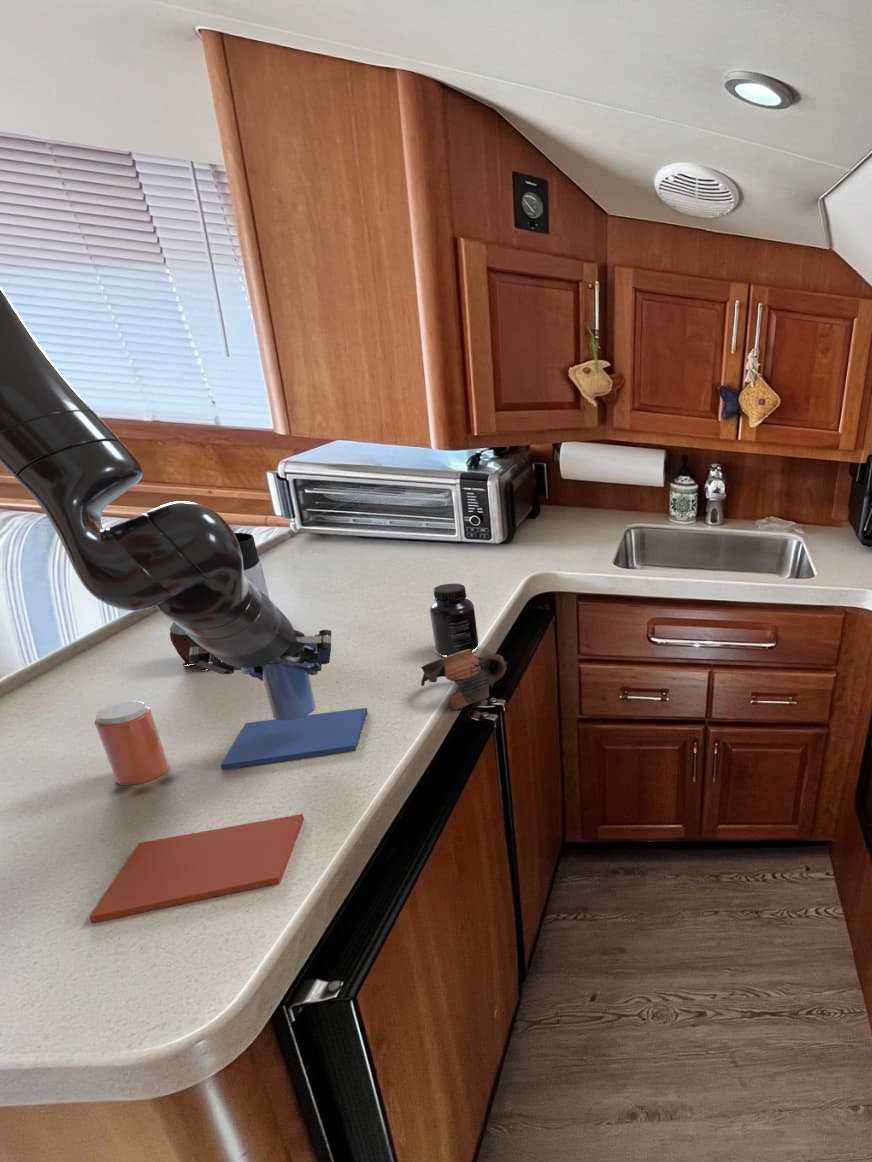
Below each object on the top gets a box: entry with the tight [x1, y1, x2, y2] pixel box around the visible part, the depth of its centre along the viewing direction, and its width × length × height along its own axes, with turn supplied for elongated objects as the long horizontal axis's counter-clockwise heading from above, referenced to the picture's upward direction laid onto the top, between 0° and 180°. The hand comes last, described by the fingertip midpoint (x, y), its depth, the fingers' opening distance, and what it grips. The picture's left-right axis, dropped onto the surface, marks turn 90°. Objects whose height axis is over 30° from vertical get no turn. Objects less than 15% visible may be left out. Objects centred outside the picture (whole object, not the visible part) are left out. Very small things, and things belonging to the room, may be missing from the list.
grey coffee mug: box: [234, 532, 271, 600], centre depth 113 cm, size 9×14×15 cm, turn 25°
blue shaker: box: [260, 662, 317, 720], centre depth 83 cm, size 5×5×9 cm
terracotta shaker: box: [93, 700, 170, 786], centre depth 75 cm, size 5×5×9 cm
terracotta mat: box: [89, 813, 305, 924], centre depth 65 cm, size 14×10×1 cm
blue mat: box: [220, 707, 369, 771], centre depth 86 cm, size 14×10×1 cm
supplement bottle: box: [429, 583, 479, 656], centre depth 110 cm, size 7×7×12 cm
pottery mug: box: [420, 649, 508, 711], centre depth 99 cm, size 12×10×8 cm
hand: (290, 670), depth 84 cm, fingers closed on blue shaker, 4 cm apart
